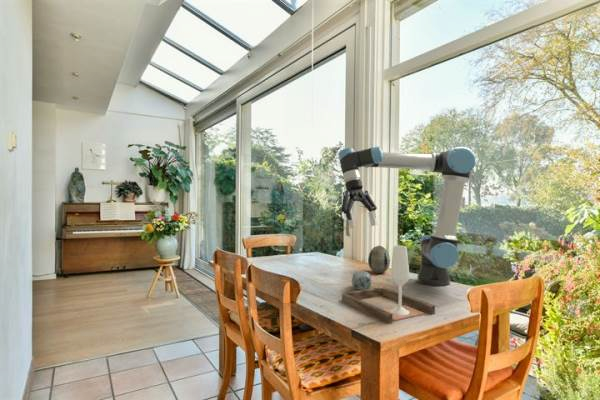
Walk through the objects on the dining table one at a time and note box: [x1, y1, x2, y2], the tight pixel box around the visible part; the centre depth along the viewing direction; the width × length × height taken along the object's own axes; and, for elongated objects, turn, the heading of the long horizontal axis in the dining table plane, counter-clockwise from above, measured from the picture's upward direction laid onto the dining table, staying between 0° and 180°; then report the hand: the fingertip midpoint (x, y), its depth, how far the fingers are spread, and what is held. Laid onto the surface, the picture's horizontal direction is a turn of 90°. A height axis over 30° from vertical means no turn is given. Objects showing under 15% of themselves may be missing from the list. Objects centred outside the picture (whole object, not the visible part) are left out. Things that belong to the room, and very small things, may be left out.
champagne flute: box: [390, 245, 410, 315], centre depth 129 cm, size 7×7×24 cm
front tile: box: [383, 304, 426, 322], centre depth 129 cm, size 14×10×1 cm
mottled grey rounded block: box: [351, 270, 372, 291], centre depth 162 cm, size 14×10×10 cm
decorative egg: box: [367, 245, 391, 274], centre depth 194 cm, size 12×12×15 cm
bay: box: [341, 286, 436, 325], centre depth 137 cm, size 22×29×3 cm
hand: (363, 226), depth 157 cm, fingers open, 13 cm apart
